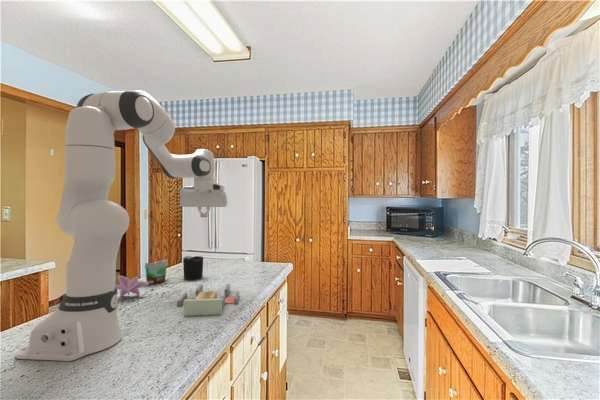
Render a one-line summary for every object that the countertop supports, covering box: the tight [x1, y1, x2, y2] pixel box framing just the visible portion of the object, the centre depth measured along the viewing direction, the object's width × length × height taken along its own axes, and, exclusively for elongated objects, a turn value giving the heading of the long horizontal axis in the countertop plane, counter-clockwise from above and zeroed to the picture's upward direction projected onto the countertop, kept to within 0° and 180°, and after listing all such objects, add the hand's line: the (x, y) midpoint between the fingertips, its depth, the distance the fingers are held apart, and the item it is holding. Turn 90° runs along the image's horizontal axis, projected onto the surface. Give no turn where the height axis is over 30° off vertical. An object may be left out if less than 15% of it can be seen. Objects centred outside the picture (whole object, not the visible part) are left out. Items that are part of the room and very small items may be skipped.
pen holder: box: [182, 255, 204, 281], centre depth 148 cm, size 9×9×10 cm
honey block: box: [195, 291, 218, 299], centre depth 107 cm, size 6×8×5 cm
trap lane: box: [176, 283, 240, 316], centre depth 114 cm, size 22×26×5 cm
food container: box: [144, 257, 169, 285], centre depth 140 cm, size 12×6×10 cm, turn 168°
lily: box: [116, 274, 149, 302], centre depth 117 cm, size 12×12×10 cm
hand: (204, 217), depth 133 cm, fingers closed
